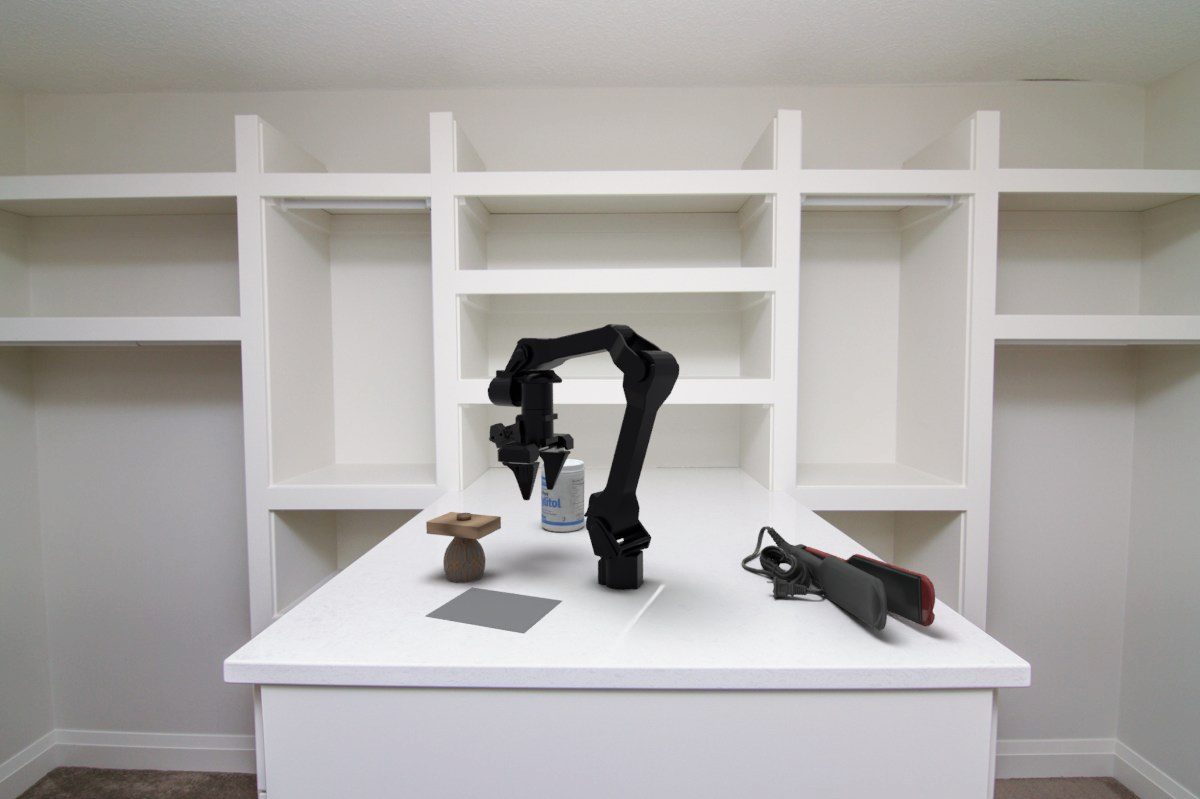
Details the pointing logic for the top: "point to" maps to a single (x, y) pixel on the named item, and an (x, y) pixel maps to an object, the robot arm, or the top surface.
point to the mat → (495, 609)
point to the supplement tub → (564, 499)
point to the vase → (464, 560)
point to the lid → (463, 525)
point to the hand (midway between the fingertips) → (538, 494)
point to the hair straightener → (847, 582)
